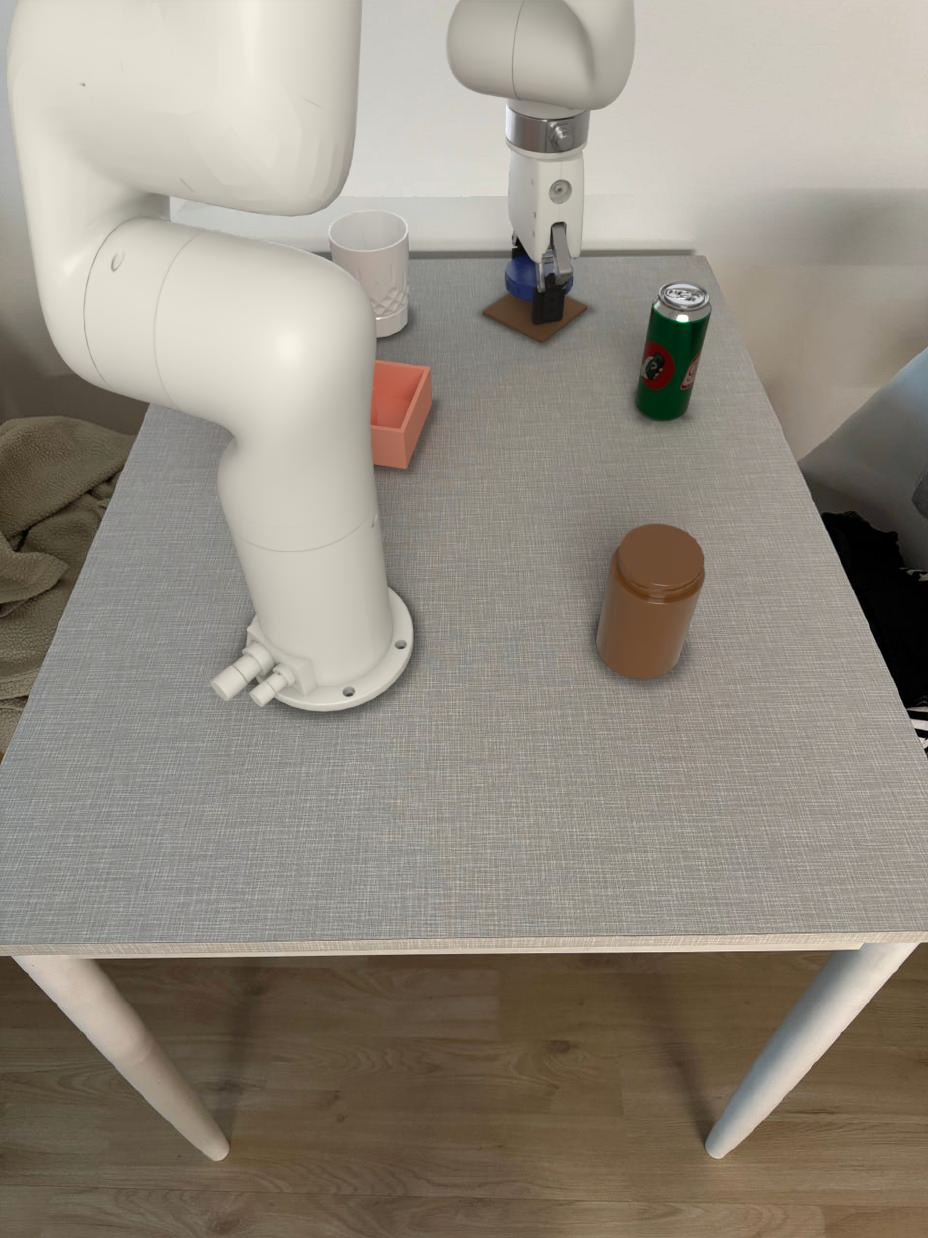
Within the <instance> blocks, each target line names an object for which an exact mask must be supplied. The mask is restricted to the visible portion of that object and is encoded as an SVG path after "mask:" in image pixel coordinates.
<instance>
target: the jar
mask: <svg viewBox="0 0 928 1238" xmlns="http://www.w3.org/2000/svg"><path fill="white" fill-rule="evenodd" d="M702 549H703V548H702V546H701V545H700V544H699V542H698V540H697V539H696V538H695V537H693V536H692V535H691V534H690V533H689V532H687V531H686V530H683V529H681V528H679V527H676V526H673V525H669V524H664V523H647V524H642V525H640V526H637V527H635V528H633V529H631V530H630V531H628V532H627V533H626V534H625V535H624V536H623V538H622V539H621V541H620V544H619V545H618V546H617V547H616V548H615V549H614V550H613V553H612V554H611V558H610V562H609V568H608V574H607V579H606V582H605V583H606V585H605V589H604V595H603V600H602V604H601V611H600V615H599V621H598V626H597V632H596V638H595V646H596V650H597V653H598V655H599V657H600V658H601V660H602V661H603V663H604V664H605V665H606V666H607V667H609V668H610V669H611V670H613V671H614V672H616V673H617V674H619V675H621V676H623V677H627V678H631V679H635V680H651V679H656V678H659V677H661V676H664V675H665V674H667V673H669V672H670V671H671V670H672V669H673V668H674V667H675V666H676V664H677V663H678V661H679V659H680V656H681V653H682V650H683V647H684V644H685V641H686V638H687V634H688V631H689V628H690V626H691V623H692V619H693V616H694V614H695V610H696V607H697V604H698V601H699V598H700V594H701V591H702V589H703V585H704V582H705V579H706V568H705V555H704V552H703V550H702Z"/></svg>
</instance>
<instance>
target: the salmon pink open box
mask: <svg viewBox="0 0 928 1238" xmlns="http://www.w3.org/2000/svg"><path fill="white" fill-rule="evenodd" d="M431 371H432V370H431V366H425V365H417V364H411V363H403V362H402V363H401V362H400V363H399V362H395V361H388V360H379V359H375V368H374V377H373V386H372V398H371V423H370V424H371V447H372V459H373V465H377V466H383V467H390V468H394V469H395V468H396V469H402V470H407V469H408V466H409V464H410V462H411V459H412V457H413V454H414V451H415V449H416V446H417V443H418V440H419V438H420V436H421V433H422V431H423V428H424V427H425V426H424V425H425V423H426V420H427V418H428V415H429V413H430V410H431V407H432V405H433V394H432V393H433V392H432V372H431Z"/></svg>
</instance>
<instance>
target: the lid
mask: <svg viewBox="0 0 928 1238" xmlns="http://www.w3.org/2000/svg"><path fill="white" fill-rule="evenodd" d="M546 256H553V254H552V253H547V252H546V253H545V254H542V257H546ZM571 267H572V276H571V277H570V278H569V280H568V283H567V288H566V289H565V296H567V294H569V293H570V291H571V289H572V288H573V287H574V267H573V265H572V264H571ZM544 269H545V277H546V276H547V275H548V274H549V273H553V270H554V263H550V264H544ZM504 283H505V284H504V285H505V288H506V291H507V292H508V294H509V293H511V294H512V295H513V296H515V297H517V298H520V299H523V300H526V301H533V290H534V287H537V276H536V263H535V262H534V261H533V260H532V259H531V258H530V257H529V255H528V254H526V255H521V256H518V257H516V258H514V259H513V260H511V259H510V261H509V262H508V263H507V264H506V267H505V271H504Z"/></svg>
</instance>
